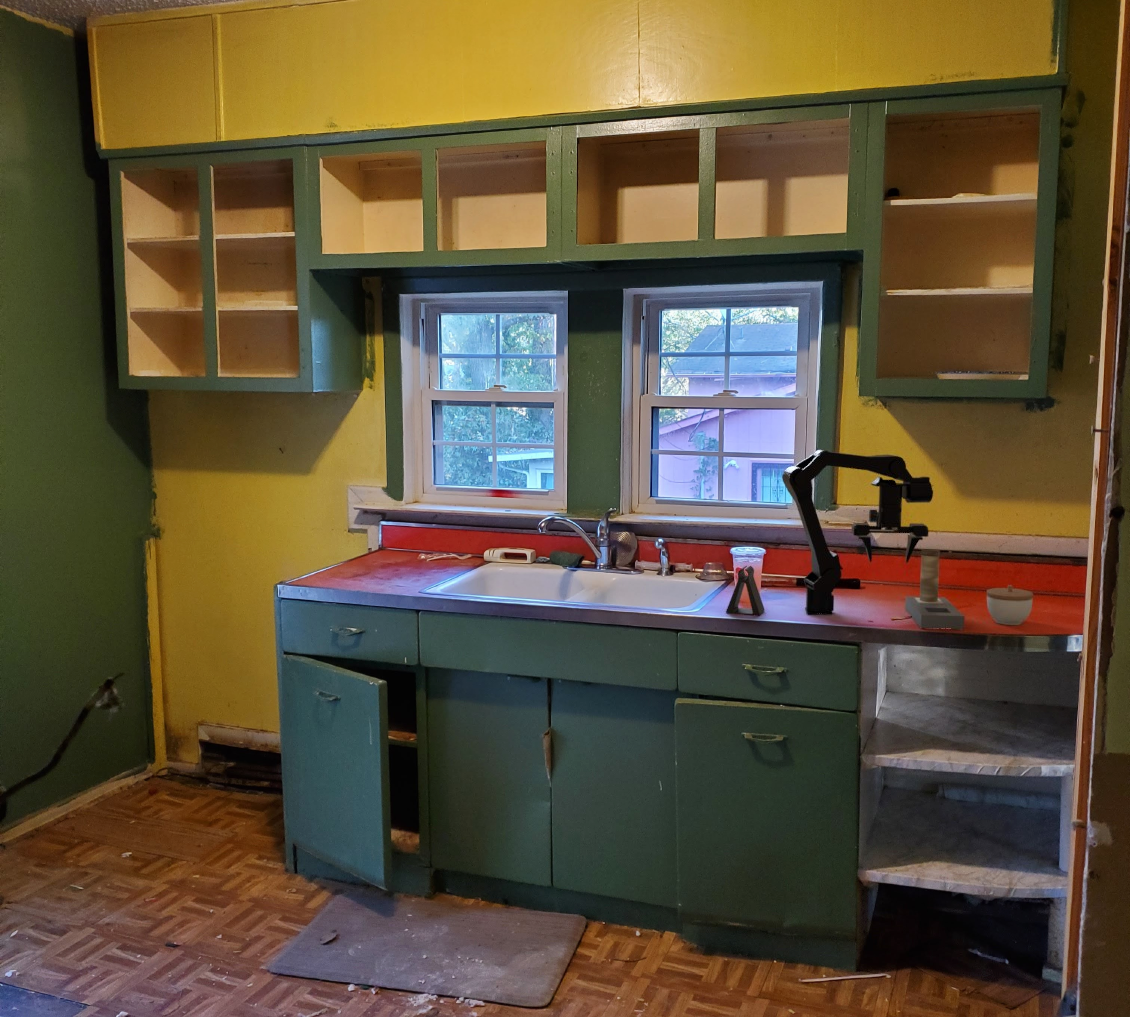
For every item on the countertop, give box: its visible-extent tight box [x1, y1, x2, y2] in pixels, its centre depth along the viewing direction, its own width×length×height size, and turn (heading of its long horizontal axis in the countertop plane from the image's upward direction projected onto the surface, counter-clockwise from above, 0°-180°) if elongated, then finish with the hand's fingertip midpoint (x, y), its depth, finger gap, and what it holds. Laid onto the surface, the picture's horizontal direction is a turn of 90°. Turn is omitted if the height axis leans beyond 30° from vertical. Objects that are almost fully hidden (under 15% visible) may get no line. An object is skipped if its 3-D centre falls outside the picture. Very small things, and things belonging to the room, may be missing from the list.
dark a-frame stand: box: [725, 565, 766, 617], centre depth 275 cm, size 9×6×12 cm, turn 67°
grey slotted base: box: [904, 596, 965, 630], centre depth 266 cm, size 10×22×4 cm, turn 172°
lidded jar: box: [986, 584, 1034, 626], centre depth 262 cm, size 11×11×9 cm
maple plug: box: [919, 548, 941, 602], centre depth 271 cm, size 5×5×13 cm
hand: (888, 562), depth 275 cm, fingers open, 9 cm apart
